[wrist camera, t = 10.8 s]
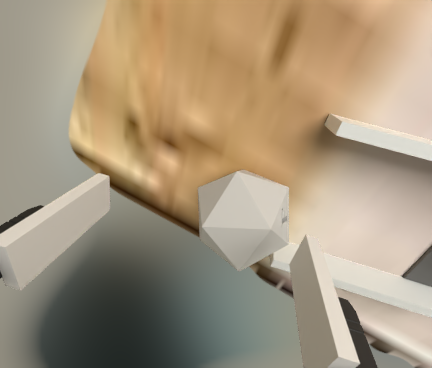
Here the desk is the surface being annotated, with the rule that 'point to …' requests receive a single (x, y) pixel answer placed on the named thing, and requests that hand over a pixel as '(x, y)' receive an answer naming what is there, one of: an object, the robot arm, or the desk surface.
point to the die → (244, 217)
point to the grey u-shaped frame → (361, 274)
